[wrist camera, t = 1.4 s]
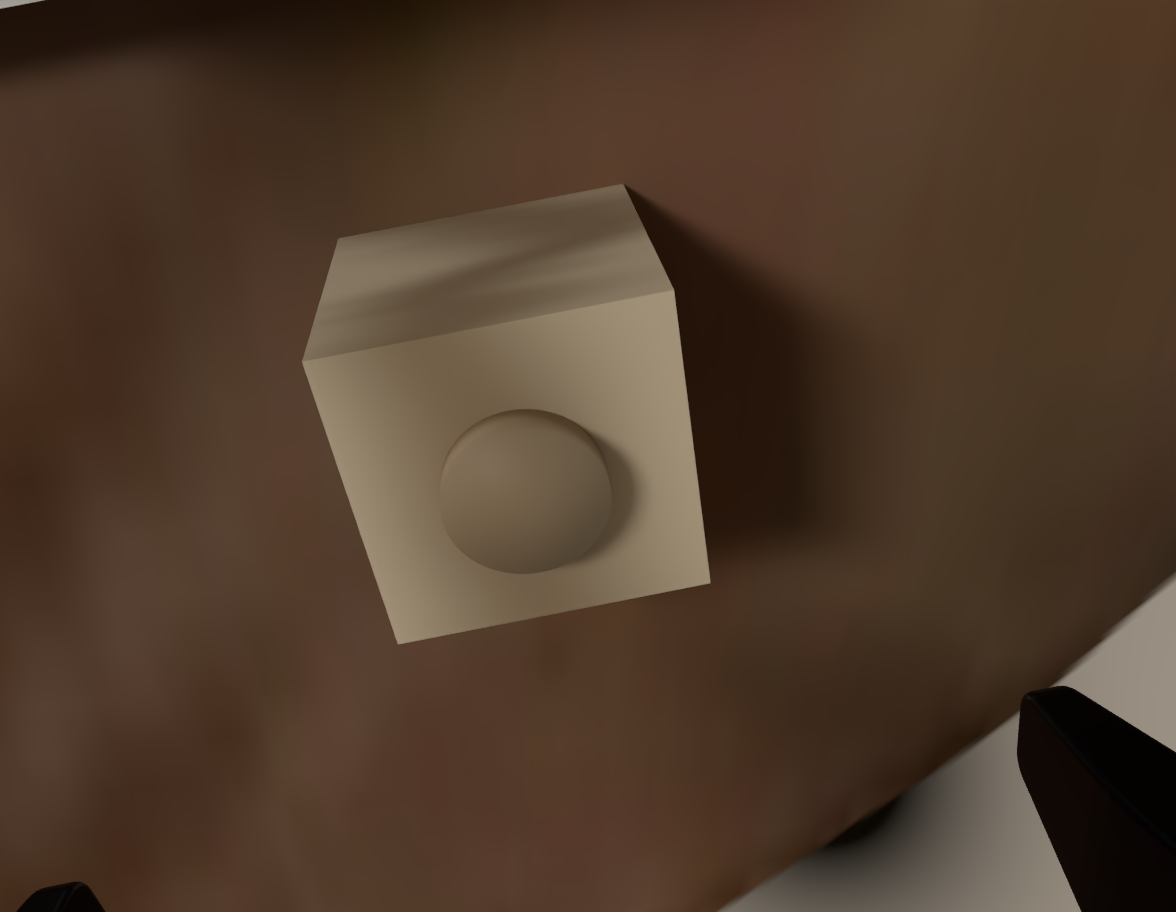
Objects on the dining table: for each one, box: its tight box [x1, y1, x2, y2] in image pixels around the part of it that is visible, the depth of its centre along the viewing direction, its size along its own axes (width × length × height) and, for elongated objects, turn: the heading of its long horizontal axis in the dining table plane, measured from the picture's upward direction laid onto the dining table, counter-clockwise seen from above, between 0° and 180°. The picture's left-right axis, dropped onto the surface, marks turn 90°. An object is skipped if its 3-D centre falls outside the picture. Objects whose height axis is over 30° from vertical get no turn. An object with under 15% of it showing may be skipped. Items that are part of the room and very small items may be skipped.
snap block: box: [302, 184, 710, 644], centre depth 17 cm, size 5×5×6 cm
